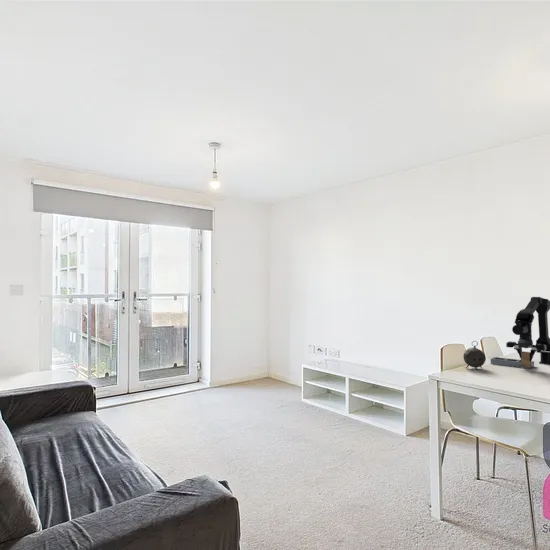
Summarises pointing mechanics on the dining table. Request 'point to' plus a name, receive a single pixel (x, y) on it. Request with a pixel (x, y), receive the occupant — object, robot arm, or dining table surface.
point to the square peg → (525, 359)
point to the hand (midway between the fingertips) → (526, 360)
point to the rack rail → (509, 362)
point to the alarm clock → (474, 357)
